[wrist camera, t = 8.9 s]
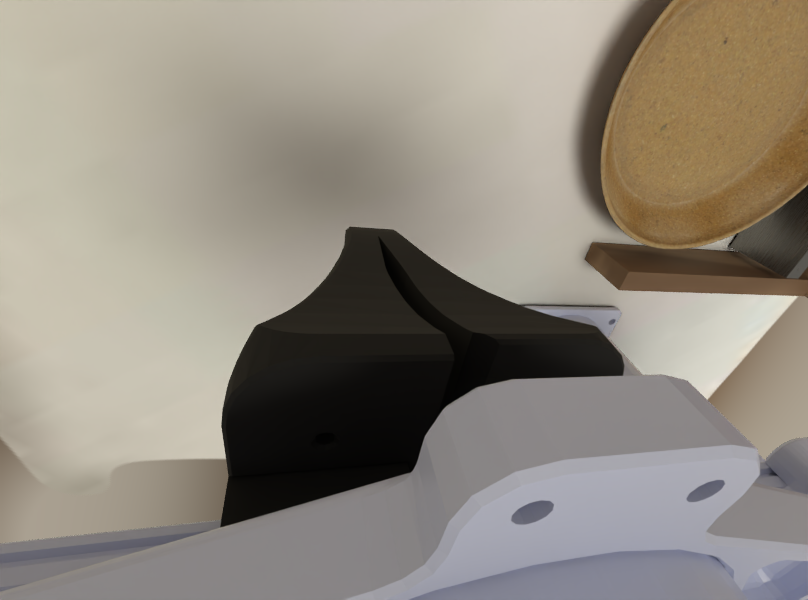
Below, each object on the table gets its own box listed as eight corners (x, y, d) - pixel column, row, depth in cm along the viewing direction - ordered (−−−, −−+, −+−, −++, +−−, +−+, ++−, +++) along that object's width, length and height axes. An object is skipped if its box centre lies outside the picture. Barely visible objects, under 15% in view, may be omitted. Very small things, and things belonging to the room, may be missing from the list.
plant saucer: (628, 272, 27) (655, 293, 25) (524, 93, 19) (550, 103, 17) (855, 111, 23) (909, 121, 21) (844, -198, 15) (928, -231, 13)
